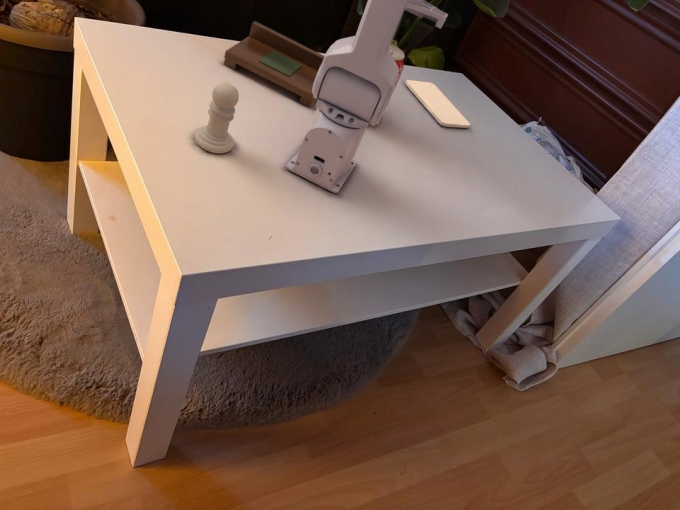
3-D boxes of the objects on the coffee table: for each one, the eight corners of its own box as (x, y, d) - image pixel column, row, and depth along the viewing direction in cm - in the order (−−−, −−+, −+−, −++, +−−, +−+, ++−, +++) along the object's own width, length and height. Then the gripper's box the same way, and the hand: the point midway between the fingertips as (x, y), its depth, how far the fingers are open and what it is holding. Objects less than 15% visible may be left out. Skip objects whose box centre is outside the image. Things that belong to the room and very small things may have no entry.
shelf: (308, 108, 92) (318, 82, 89) (222, 64, 92) (228, 36, 89) (328, 87, 99) (337, 62, 96) (248, 47, 100) (255, 21, 96)
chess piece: (241, 149, 77) (256, 92, 71) (211, 158, 74) (225, 99, 68) (215, 127, 79) (229, 70, 73) (185, 135, 75) (197, 75, 69)
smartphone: (433, 82, 115) (472, 125, 107) (431, 86, 116) (470, 128, 107) (404, 79, 111) (442, 123, 103) (403, 82, 112) (441, 126, 103)
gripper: (463, -18, 88) (426, 61, 97) (381, -58, 88) (351, 24, 97) (458, -8, 83) (418, 74, 92) (370, -52, 83) (339, 35, 92)
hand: (383, 49), depth 94 cm, fingers open, 7 cm apart
